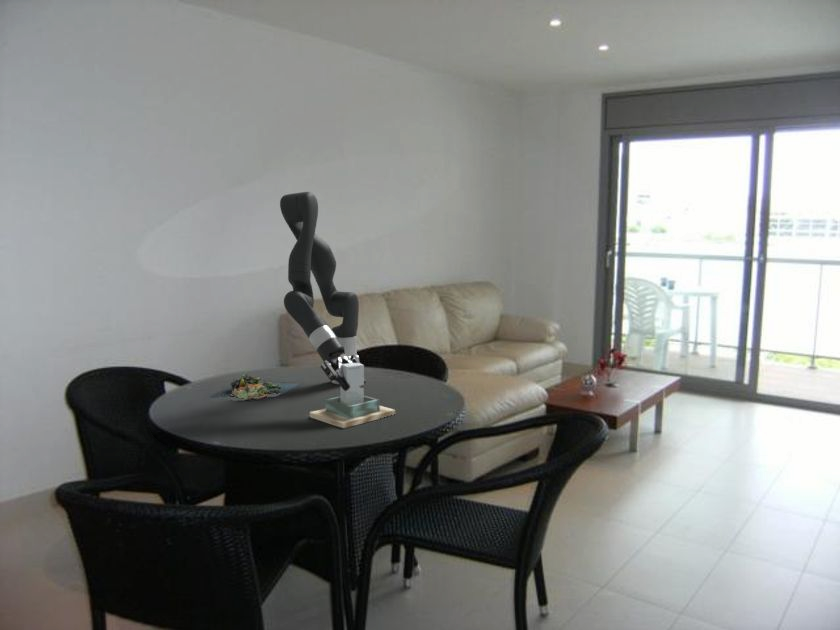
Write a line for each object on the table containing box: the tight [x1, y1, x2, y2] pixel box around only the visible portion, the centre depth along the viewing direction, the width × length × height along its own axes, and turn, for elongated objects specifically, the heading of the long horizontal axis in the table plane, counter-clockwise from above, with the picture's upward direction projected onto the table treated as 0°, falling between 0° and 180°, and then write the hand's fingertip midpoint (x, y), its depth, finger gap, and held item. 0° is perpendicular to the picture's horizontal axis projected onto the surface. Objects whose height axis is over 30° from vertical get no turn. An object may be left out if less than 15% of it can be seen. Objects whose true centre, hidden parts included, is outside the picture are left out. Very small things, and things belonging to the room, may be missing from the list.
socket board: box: [309, 395, 396, 429], centre depth 200 cm, size 20×16×5 cm
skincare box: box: [339, 362, 365, 406], centre depth 199 cm, size 6×4×12 cm
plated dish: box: [209, 373, 300, 401], centre depth 228 cm, size 35×28×7 cm
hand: (356, 386), depth 198 cm, fingers closed on skincare box, 7 cm apart
